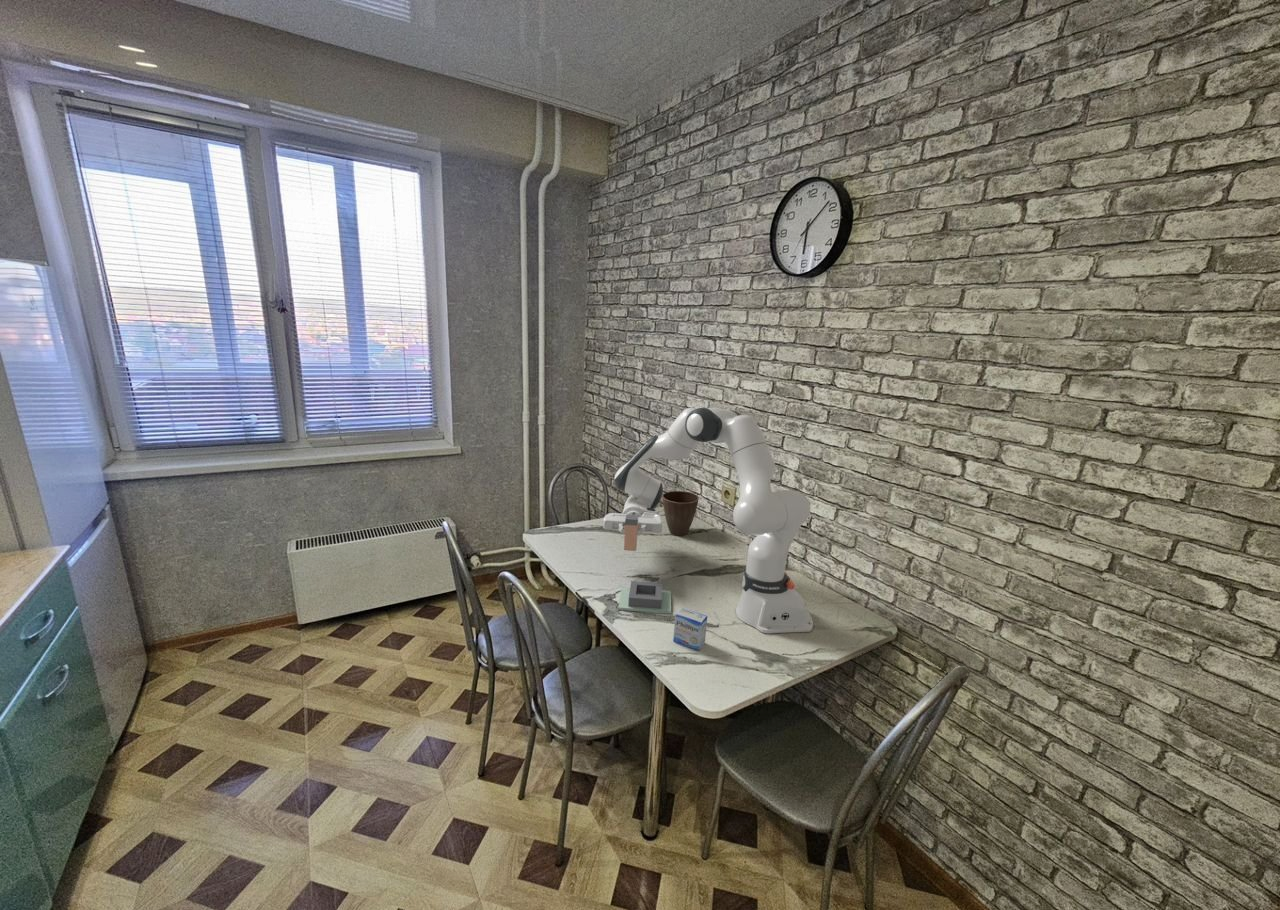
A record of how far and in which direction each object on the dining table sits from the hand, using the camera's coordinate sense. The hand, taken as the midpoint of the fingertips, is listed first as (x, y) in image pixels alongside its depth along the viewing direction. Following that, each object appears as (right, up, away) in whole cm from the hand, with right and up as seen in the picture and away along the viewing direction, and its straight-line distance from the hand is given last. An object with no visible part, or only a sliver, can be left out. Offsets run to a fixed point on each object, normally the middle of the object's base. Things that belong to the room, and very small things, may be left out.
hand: (631, 532), depth 160 cm
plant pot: (+19, -7, +46) cm, 50 cm away
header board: (+5, -20, -7) cm, 22 cm away
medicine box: (+16, -26, -26) cm, 40 cm away
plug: (0, -6, +2) cm, 6 cm away
